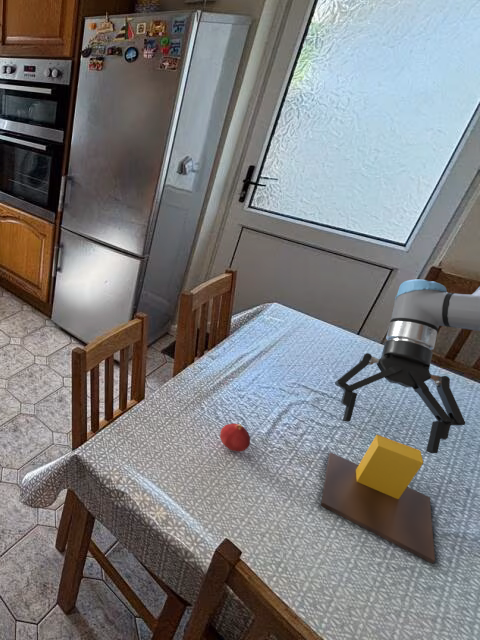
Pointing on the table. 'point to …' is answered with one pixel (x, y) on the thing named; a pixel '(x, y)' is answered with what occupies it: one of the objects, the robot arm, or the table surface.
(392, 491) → the block
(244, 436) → the red round piece
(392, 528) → the board
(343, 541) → the table surface
